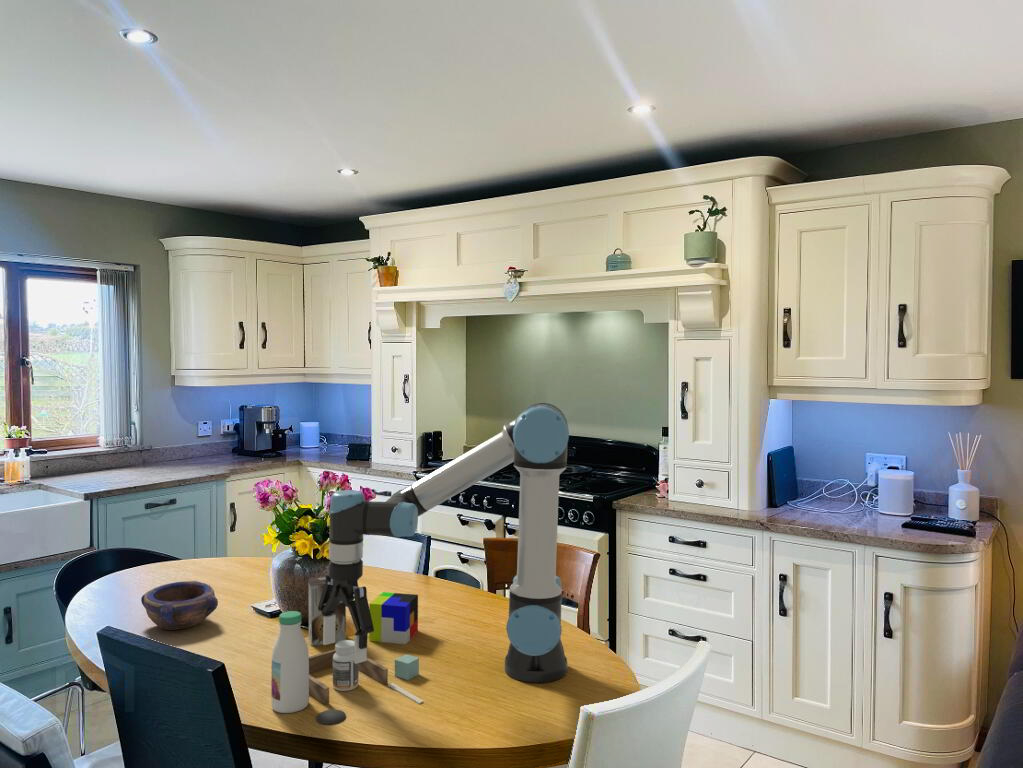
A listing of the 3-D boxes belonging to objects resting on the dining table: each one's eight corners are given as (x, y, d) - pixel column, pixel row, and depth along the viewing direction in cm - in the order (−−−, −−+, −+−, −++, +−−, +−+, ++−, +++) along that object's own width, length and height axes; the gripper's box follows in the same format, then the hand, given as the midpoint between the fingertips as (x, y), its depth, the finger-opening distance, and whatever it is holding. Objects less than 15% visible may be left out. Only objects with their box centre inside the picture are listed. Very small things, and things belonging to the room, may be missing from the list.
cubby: (387, 683, 176) (387, 668, 176) (325, 704, 165) (325, 688, 165) (346, 659, 189) (346, 645, 189) (286, 678, 178) (286, 663, 178)
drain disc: (351, 718, 159) (351, 716, 159) (325, 727, 155) (325, 726, 155) (336, 708, 163) (336, 706, 163) (310, 717, 159) (310, 715, 159)
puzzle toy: (405, 644, 200) (405, 606, 199) (369, 641, 202) (369, 603, 201) (417, 630, 209) (418, 594, 209) (383, 627, 211) (383, 592, 211)
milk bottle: (312, 697, 168) (312, 607, 167) (304, 714, 160) (304, 620, 160) (277, 697, 168) (277, 607, 167) (266, 714, 160) (266, 620, 159)
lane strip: (423, 702, 167) (423, 700, 167) (419, 703, 166) (419, 702, 166) (392, 684, 175) (392, 683, 175) (387, 685, 175) (387, 684, 175)
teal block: (418, 674, 181) (419, 658, 181) (407, 680, 178) (407, 663, 178) (405, 670, 183) (406, 654, 183) (394, 676, 180) (394, 659, 180)
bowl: (154, 642, 199) (154, 604, 198) (136, 623, 213) (136, 587, 212) (224, 627, 210) (224, 591, 210) (202, 609, 224) (202, 576, 224)
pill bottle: (347, 679, 178) (347, 637, 178) (363, 686, 174) (363, 643, 174) (327, 687, 174) (327, 644, 173) (343, 694, 170) (343, 650, 170)
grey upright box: (342, 633, 207) (342, 574, 206) (346, 642, 201) (346, 581, 200) (307, 637, 203) (307, 577, 203) (310, 646, 197) (310, 584, 197)
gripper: (391, 569, 166) (389, 665, 167) (332, 545, 184) (331, 632, 185) (361, 575, 161) (359, 674, 162) (304, 550, 179) (302, 640, 180)
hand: (344, 652), depth 174 cm, fingers open, 13 cm apart
